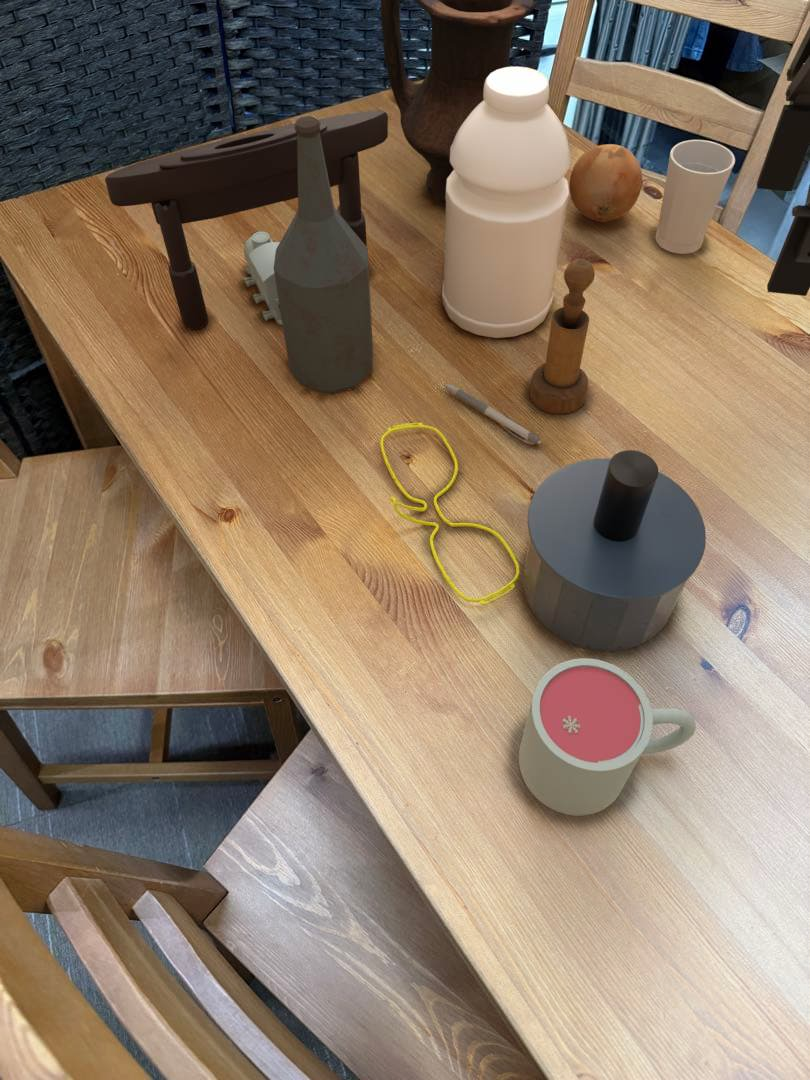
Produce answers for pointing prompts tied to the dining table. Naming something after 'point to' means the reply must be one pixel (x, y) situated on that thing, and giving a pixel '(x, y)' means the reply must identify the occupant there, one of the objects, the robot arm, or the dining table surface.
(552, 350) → the mortar and pestle
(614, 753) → the mug
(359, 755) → the dining table surface
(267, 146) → the stool
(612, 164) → the onion
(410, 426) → the glasses
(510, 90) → the bottle
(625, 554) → the lid
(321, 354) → the bottle
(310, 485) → the dining table surface
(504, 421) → the pen
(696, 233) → the cup
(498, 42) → the jug
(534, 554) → the pot
